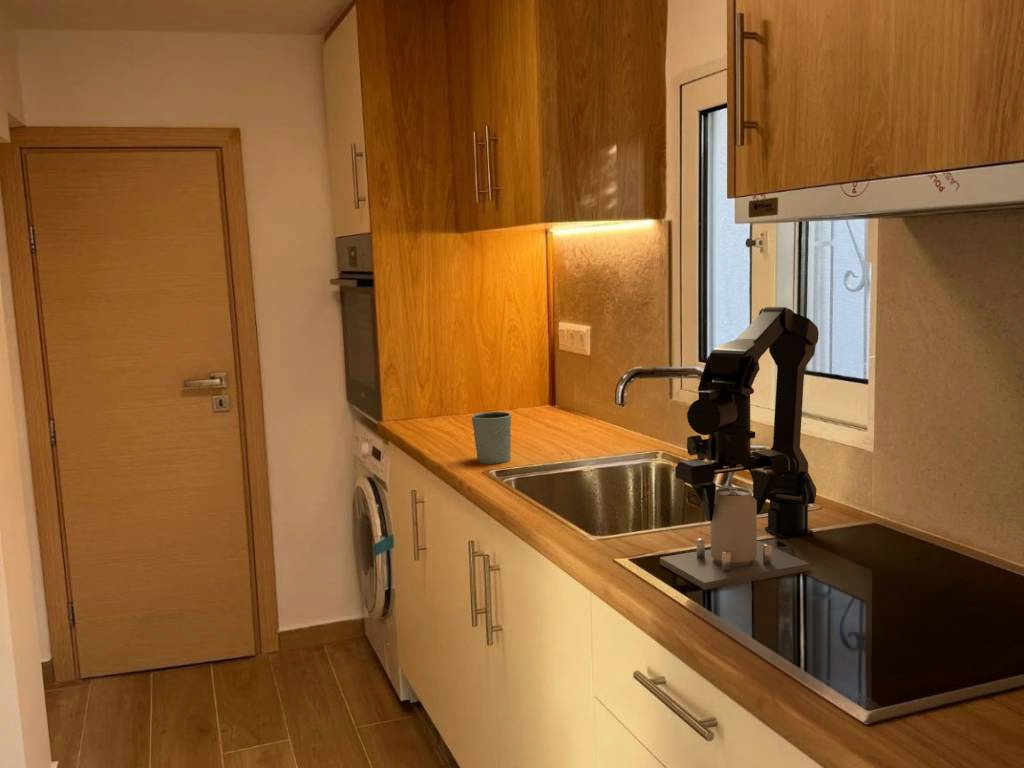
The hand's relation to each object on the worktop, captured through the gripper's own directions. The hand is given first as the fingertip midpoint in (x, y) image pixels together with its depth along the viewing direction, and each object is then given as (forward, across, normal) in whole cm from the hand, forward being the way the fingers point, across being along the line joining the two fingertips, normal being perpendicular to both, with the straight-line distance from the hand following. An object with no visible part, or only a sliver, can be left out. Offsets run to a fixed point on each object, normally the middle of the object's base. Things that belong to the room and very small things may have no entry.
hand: (733, 516), depth 162 cm
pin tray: (+9, 0, 0) cm, 9 cm away
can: (+8, 0, 0) cm, 8 cm away
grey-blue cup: (+9, +7, -99) cm, 100 cm away
